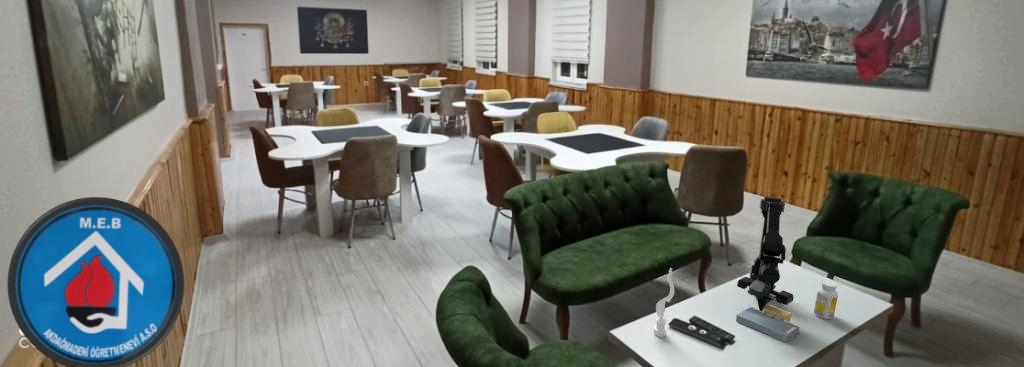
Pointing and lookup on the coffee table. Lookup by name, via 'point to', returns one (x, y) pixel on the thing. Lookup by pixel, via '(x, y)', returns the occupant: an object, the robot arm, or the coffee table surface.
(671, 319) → the coffee table surface
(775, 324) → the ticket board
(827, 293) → the supplement bottle
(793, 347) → the coffee table surface
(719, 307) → the coffee table surface
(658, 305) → the decorative finial
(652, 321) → the coffee table surface
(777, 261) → the robot arm
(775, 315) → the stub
